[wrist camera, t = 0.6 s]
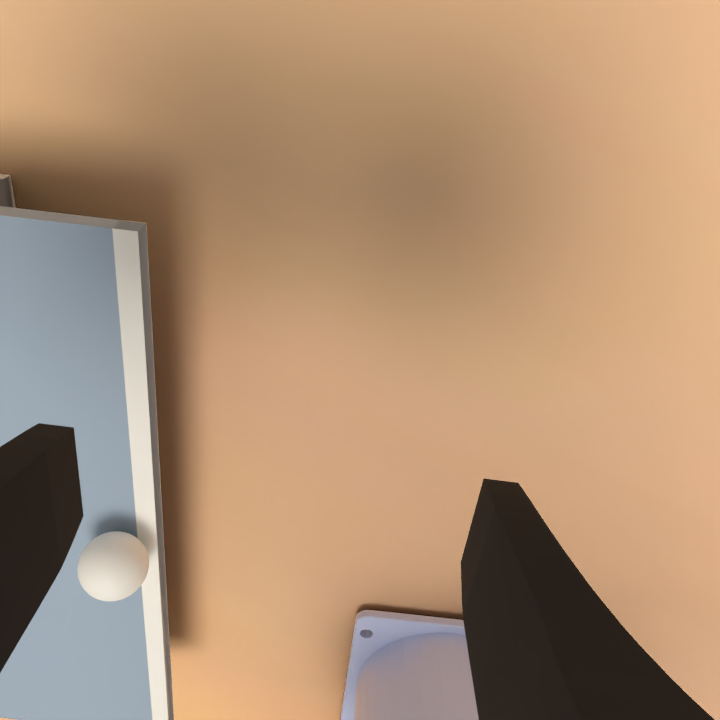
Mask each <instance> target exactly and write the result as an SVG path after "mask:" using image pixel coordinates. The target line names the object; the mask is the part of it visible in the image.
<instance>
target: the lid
mask: <svg viewBox="0 0 720 720" xmlns="http://www.w3.org/2000/svg"><path fill="white" fill-rule="evenodd" d="M38 423H42V424H50V425H58V426H66V427H74V434H75V443H76V452H77V461H78V470H79V479H80V488H81V497H82V507H83V518H82V521H81V523H80V526H79V528H78V531H77V533H76V536H75V538H74V541H73V543H72V545H71V548H70V550H69V552H68V555H67V557H66V559H65V561H64V564H63V566H62V568H61V570H60V572H59V573H58V575H57V577H56V579H55V581H54V582H53V584H52V586H51V587H50V589H49V591H48V593H47V594H46V596H45V598H44V600H43V601H42V603H41V605H40V606H39V608H38V610H37V612H36V613H35V615H34V617H33V618H32V620H31V622H30V623H29V625H28V627H27V629H26V630H25V632H24V634H23V635H22V637H21V639H20V640H19V642H18V644H17V645H16V647H15V649H14V651H13V652H12V654H11V656H10V657H9V659H8V661H7V662H6V664H5V666H4V668H3V669H2V671H1V673H0V718H8V719H18V720H174V714H173V696H172V678H171V660H170V642H169V624H168V605H167V587H166V569H165V551H164V533H163V515H162V497H161V478H160V460H159V442H158V424H157V406H156V388H155V370H154V351H153V333H152V315H151V297H150V279H149V261H148V243H147V224H146V223H144V222H135V221H127V220H116V219H107V218H98V217H90V216H81V215H73V214H64V213H55V212H47V211H38V210H30V209H21V208H12V207H4V206H0V447H1V446H2V445H4V444H5V443H7V442H9V441H10V440H12V439H13V438H15V437H17V436H18V435H20V434H21V433H23V432H25V431H26V430H28V429H30V428H31V427H33V426H35V425H37V424H38Z"/></svg>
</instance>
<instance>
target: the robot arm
mask: <svg viewBox="0 0 720 720" xmlns="http://www.w3.org/2000/svg"><path fill="white" fill-rule="evenodd" d="M82 518H83V507H82V497H81V488H80V479H79V470H78V461H77V452H76V443H75V434H74V427H66V426H58V425H50V424H42V423H38V424H37V425H35V426H33V427H31V428H30V429H28V430H26V431H25V432H23V433H21V434H20V435H18V436H17V437H15V438H13V439H12V440H10V441H9V442H7V443H5V444H4V445H2V446H1V447H0V673H1V671H2V669H3V668H4V666H5V664H6V662H7V661H8V659H9V657H10V656H11V654H12V652H13V651H14V649H15V647H16V645H17V644H18V642H19V640H20V639H21V637H22V635H23V634H24V632H25V630H26V629H27V627H28V625H29V623H30V622H31V620H32V618H33V617H34V615H35V613H36V612H37V610H38V608H39V606H40V605H41V603H42V601H43V600H44V598H45V596H46V594H47V593H48V591H49V589H50V587H51V586H52V584H53V582H54V581H55V579H56V577H57V575H58V573H59V572H60V570H61V568H62V566H63V564H64V561H65V559H66V557H67V555H68V552H69V550H70V548H71V545H72V543H73V541H74V538H75V536H76V533H77V531H78V528H79V526H80V523H81V521H82ZM461 582H462V609H463V620H459V619H450V618H441V617H431V616H422V615H413V614H404V613H394V612H385V611H376V610H363V611H360V612H359V613H358V614H357V615H356V619H355V625H354V632H353V638H352V645H351V651H350V658H349V664H348V671H347V677H346V684H345V690H344V697H343V703H342V710H341V717H340V720H714V719H713V718H712V717H711V716H710V715H709V714H708V713H707V712H705V711H704V710H703V709H702V708H701V707H700V706H699V705H698V704H697V703H696V702H695V701H694V700H692V699H691V698H690V697H689V696H688V695H687V694H686V693H685V692H684V691H683V690H682V689H681V688H680V687H679V686H678V685H677V684H676V683H675V682H674V681H673V680H672V679H671V678H670V677H669V676H668V675H667V674H666V673H665V672H664V671H663V670H662V668H661V667H660V666H659V665H658V664H657V663H656V662H655V661H654V660H653V659H652V658H651V657H650V656H649V655H648V654H647V653H646V652H645V651H644V649H643V648H642V647H641V646H640V645H639V644H638V643H637V642H636V641H635V640H634V639H633V637H632V636H631V635H630V634H629V633H628V632H627V631H626V630H625V628H624V627H623V626H622V625H621V624H620V623H619V621H618V620H617V619H616V618H615V616H614V615H613V614H612V613H611V612H610V610H609V609H608V608H607V607H606V606H605V604H604V603H603V602H602V601H601V599H600V598H599V597H598V595H597V594H596V593H595V592H594V590H593V589H592V588H591V586H590V585H589V584H588V583H587V581H586V580H585V578H584V577H583V576H582V574H581V573H580V572H579V570H578V569H577V568H576V566H575V565H574V563H573V562H572V561H571V559H570V558H569V557H568V555H567V554H566V553H565V551H564V550H563V548H562V547H561V545H560V544H559V543H558V541H557V540H556V538H555V537H554V535H553V534H552V532H551V531H550V529H549V528H548V526H547V525H546V524H545V522H544V521H543V519H542V518H541V516H540V515H539V513H538V512H537V510H536V508H535V507H534V505H533V504H532V502H531V501H530V499H529V498H528V496H527V495H526V493H525V492H524V491H523V489H522V488H521V486H520V485H519V484H518V483H514V482H506V481H498V480H490V479H484V480H483V484H482V487H481V491H480V494H479V498H478V502H477V505H476V509H475V513H474V516H473V520H472V524H471V527H470V531H469V535H468V538H467V542H466V546H465V549H464V553H463V557H462V560H461ZM365 629H368V630H365Z"/></svg>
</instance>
